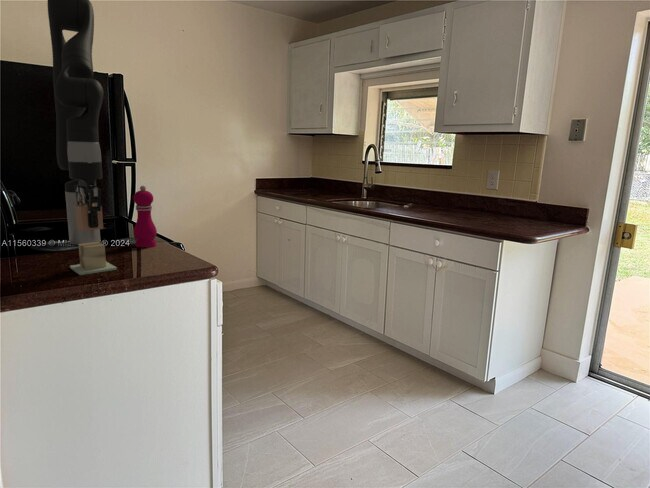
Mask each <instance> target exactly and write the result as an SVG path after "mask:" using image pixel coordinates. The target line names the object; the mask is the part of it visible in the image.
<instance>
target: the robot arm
mask: <svg viewBox="0 0 650 488" xmlns="http://www.w3.org/2000/svg"><path fill="white" fill-rule="evenodd" d="M94 13H95V12H94V6H93V5H92V2H91V1H90V0H47V16H48V17H47V18H48V25H49V33H50V34H49V35H50V40H51V51H52V53H51V54H52V77H53V79H52V82H53V95H54V106H55V107H54V108H55V119H56V120H55V121H56V130H55V131H56V139H55V141H56V144H55V145H56V146H55V150H56V153H55V154H56V155H55V156H56V163H57V165H58V167H59V169H60V170H62V171H68V172H69V179H71V180H69V181H67V182H65V183H64V194H65V203H66V206H65V207H66V218H67V227H68V228H67V229H68V239H69V240H68V241H69V244H70V245H73V246H74V245H75V246H79V245H78V244H85V243H94V242H100V243H101V229H95V230H84V231H82V230H80V229H78V228H77V223H76V211H75V205H86V207H87V213H88V226H89V227H90V228H96V227H98V214H97V213H98V212H99V211H101V206H102V190H101V188H98V186H97V180H102V179H103V165H102V152H101V146H100V139H99V138H100V137H99V135H100V134H99V120H100V119H99V117H100V112H101V108H102V105H103V102H104V101H103V100H104V96H105V95H104V93H105V92H104V88H103V86H102V84H101V83H100V81H98V80H96V79H95V78H94V65H93V44H94V35H95V34H94V31H95V30H94V29H95V14H94ZM63 31H69V32H75V33H76V34H74V35H73V36H71V38H69V39H67V41H66V39H65V37H64V33H63ZM86 109H88V112H87V113H86V114H84V112H85V111H86ZM83 114H84V115H83ZM92 204H93V205H94V206H95V207H92Z"/></svg>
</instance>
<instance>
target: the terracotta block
mask: <svg viewBox="0 0 650 488" xmlns="http://www.w3.org/2000/svg"><path fill="white" fill-rule="evenodd" d="M92 207H95V206H94V205H93V204H92ZM75 211H76V223H77V228H78V229H80V230H82V231H84V230H95V229H100V230H103V229H104V221H103V220H104V219H103V206H102V205H101V211H99V212H98V213H97V214H98V227H96V228H90V227H89V226H88V213H87V207H86V205H75Z"/></svg>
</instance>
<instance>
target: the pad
mask: <svg viewBox="0 0 650 488" xmlns="http://www.w3.org/2000/svg"><path fill="white" fill-rule="evenodd" d="M69 268H70V269H71V270H72V271H73V272H75V273H76V274H78V275H79V276H85V275H90V274H98V273H103V272H111V271H116V270H118V267H117V266H115V265H113V264H111V263H110V262H108V261H106V267H103V268H97V269H90V270H85V269H84V268H82V267H81V266H80V263H79V264H78V263H77V264H71V265H69Z"/></svg>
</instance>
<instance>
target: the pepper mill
mask: <svg viewBox="0 0 650 488" xmlns="http://www.w3.org/2000/svg"><path fill="white" fill-rule="evenodd" d="M146 188H147V187H146V186H145V185H141V186H140V188H139V189H140V190H138V191H136V192H135V193H134V194H133V197H132V199H133V202H134V203H135V204H136V205H135V210H136V211H137V219H136V223H135V226H134V227H133V236H134V238H135V239H136V240H135V247H136V248H139V247H150V248H154V247H156V245H157V243H156V242H157V241H156V239H155V238H156V237H157V234H158V233H157V232H158V231H157V230H158V229H157V228H156V226H155V223H154V221H153V219H152V214H151V213H152V210H153V205H152V203H153V202H154V196H153V194H152V193H151V192H150V191H148V190H147V189H146Z"/></svg>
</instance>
